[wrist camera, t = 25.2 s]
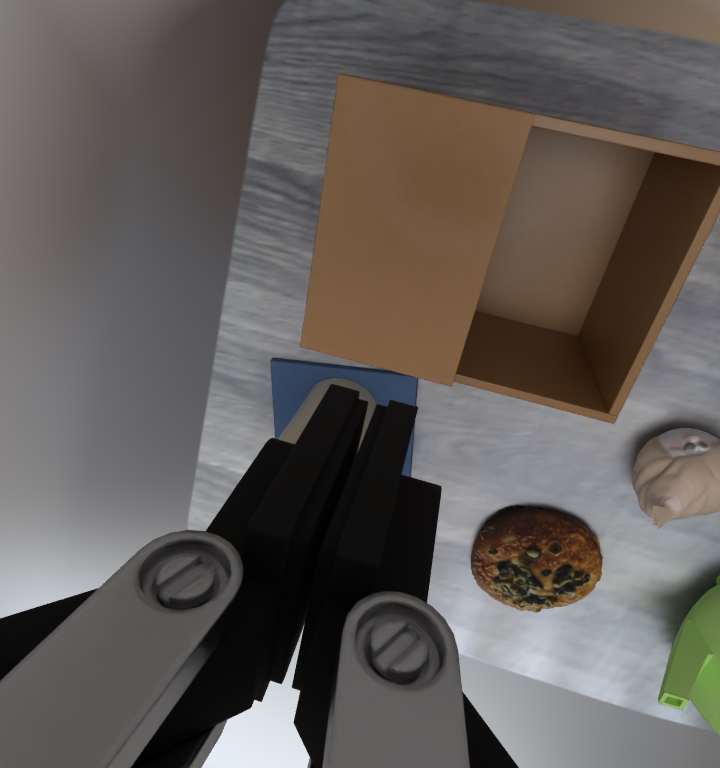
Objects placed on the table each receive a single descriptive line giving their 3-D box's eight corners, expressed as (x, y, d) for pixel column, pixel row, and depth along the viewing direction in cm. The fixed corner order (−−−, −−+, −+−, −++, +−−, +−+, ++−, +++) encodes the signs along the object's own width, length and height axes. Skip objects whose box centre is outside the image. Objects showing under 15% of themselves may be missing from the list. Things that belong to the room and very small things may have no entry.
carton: (350, 284, 39) (303, 342, 29) (386, 85, 33) (341, 73, 23) (581, 341, 37) (614, 424, 27) (665, 143, 31) (747, 157, 21)
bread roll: (527, 480, 43) (537, 528, 39) (627, 541, 45) (646, 592, 41) (443, 549, 49) (443, 597, 45) (535, 600, 51) (544, 650, 47)
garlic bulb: (651, 401, 38) (686, 465, 31) (741, 427, 38) (798, 498, 31) (611, 472, 41) (635, 544, 35) (693, 496, 41) (735, 575, 34)
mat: (272, 357, 43) (270, 360, 43) (418, 373, 41) (417, 377, 41) (284, 541, 53) (282, 545, 52) (403, 562, 50) (402, 567, 50)
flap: (302, 344, 29) (299, 346, 28) (340, 74, 23) (338, 73, 22) (452, 383, 28) (451, 387, 28) (534, 114, 22) (535, 114, 21)
